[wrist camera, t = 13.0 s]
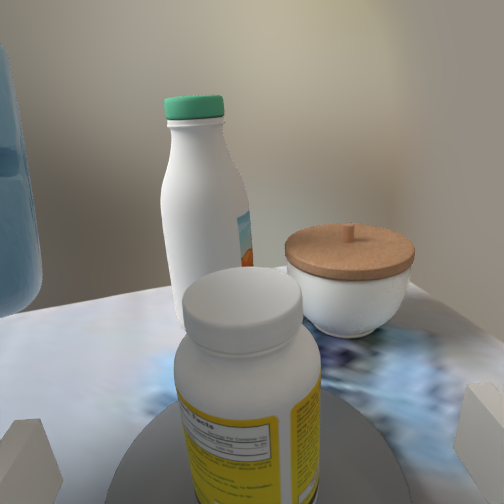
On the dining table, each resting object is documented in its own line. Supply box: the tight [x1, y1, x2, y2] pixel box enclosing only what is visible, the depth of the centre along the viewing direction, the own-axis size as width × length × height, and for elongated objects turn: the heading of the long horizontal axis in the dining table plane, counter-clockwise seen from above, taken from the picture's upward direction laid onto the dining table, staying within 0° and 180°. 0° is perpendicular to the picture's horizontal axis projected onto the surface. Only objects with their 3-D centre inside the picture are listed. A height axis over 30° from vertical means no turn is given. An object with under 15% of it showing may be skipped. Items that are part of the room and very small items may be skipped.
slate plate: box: [105, 388, 412, 504], centre depth 19 cm, size 15×15×2 cm
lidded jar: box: [285, 223, 415, 338], centre depth 32 cm, size 11×11×9 cm
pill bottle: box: [174, 267, 321, 504], centre depth 16 cm, size 6×6×11 cm
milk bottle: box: [161, 95, 253, 330], centre depth 32 cm, size 8×8×20 cm
